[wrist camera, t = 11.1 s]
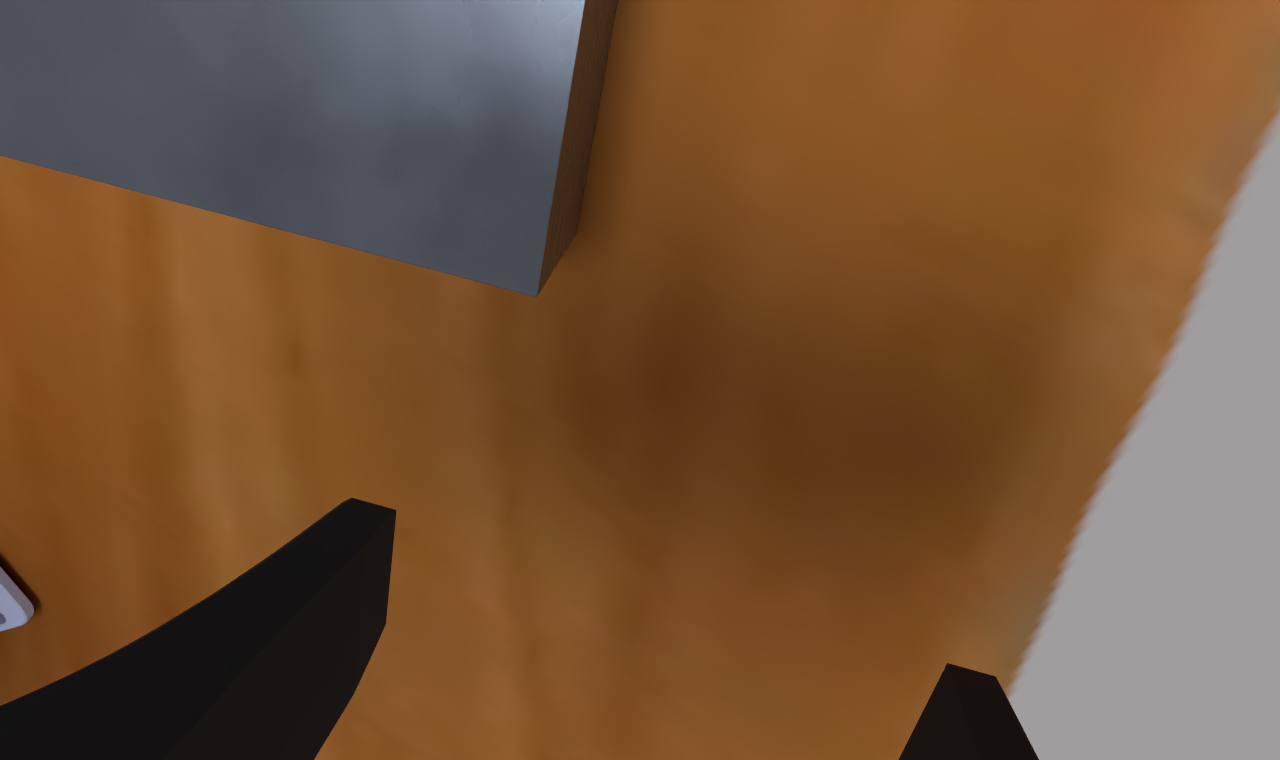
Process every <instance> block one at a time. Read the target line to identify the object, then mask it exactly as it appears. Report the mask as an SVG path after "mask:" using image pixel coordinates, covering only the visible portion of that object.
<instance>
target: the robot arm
mask: <svg viewBox="0 0 1280 760" xmlns="http://www.w3.org/2000/svg"><path fill="white" fill-rule="evenodd" d="M395 520H396V510H394V509H390V508H387V507H383V506H379V505H376V504H372V503H369V502H365V501H361V500H358V499H354V498H350V499H348V500H346V501H344V502H342V503H341V504H340V505H338V506H337V507H336V508H334V509H333V510H332V511H330V512H329V513H328V514H326V515H325V516H324V517H322V518H321V519H320V520H318V521H317V522H316V523H314V524H313V525H311V526H310V527H309V528H307V529H306V530H305V531H303V532H302V533H301V534H299V535H298V536H296V537H295V538H294V539H292V540H291V541H290V542H288V543H287V544H285V545H284V546H283V547H281V548H280V549H278V550H277V551H276V552H274V553H273V554H271V555H270V556H269V557H267V558H266V559H264V560H263V561H261V562H260V563H258V564H257V565H255V566H254V567H252V568H251V569H249V570H248V571H247V572H245V573H244V574H242V575H241V576H239V577H238V578H236V579H235V580H233V581H232V582H230V583H229V584H227V585H226V586H224V587H223V588H221V589H220V590H218V591H217V592H215V593H214V594H212V595H211V596H209V597H207V598H206V599H204V600H203V601H201V602H199V603H198V604H196V605H194V606H193V607H191V608H189V609H188V610H186V611H184V612H183V613H181V614H180V615H178V616H176V617H175V618H173V619H171V620H170V621H168V622H166V623H165V624H163V625H161V626H160V627H158V628H157V629H155V630H153V631H151V632H150V633H148V634H146V635H144V636H143V637H141V638H139V639H137V640H135V641H134V642H132V643H130V644H128V645H126V646H125V647H123V648H121V649H119V650H117V651H115V652H113V653H112V654H110V655H108V656H106V657H104V658H102V659H100V660H98V661H96V662H94V663H92V664H90V665H88V666H86V667H84V668H82V669H80V670H78V671H76V672H74V673H72V674H70V675H68V676H66V677H64V678H62V679H60V680H58V681H55V682H53V683H51V684H49V685H47V686H45V687H42V688H40V689H38V690H36V691H34V692H32V693H29V694H27V695H25V696H23V697H20V698H18V699H16V700H14V701H11V702H9V703H7V704H4V705H2V706H0V760H314V759H315V757H316V755H317V754H318V752H319V750H320V749H321V747H322V746H323V744H324V742H325V741H326V739H327V737H328V736H329V734H330V732H331V731H332V729H333V727H334V726H335V724H336V723H337V721H338V719H339V718H340V716H341V714H342V713H343V711H344V709H345V708H346V706H347V704H348V703H349V701H350V699H351V698H352V696H353V694H354V692H355V690H356V688H357V686H358V684H359V682H360V680H361V677H362V675H363V673H364V671H365V669H366V667H367V665H368V663H369V660H370V658H371V656H372V654H373V651H374V649H375V647H376V645H377V643H378V640H379V638H380V636H381V634H382V631H383V629H384V627H385V625H386V616H387V605H388V594H389V584H390V573H391V562H392V552H393V541H394V530H395ZM33 614H34V608H33V605H32V603H31V602H30V600H29V599H28V598H27V597H26V596H25V595H24V593H23V592H22V591H21V590H20V589H19V588H18V586H17V585H16V584H15V583H14V582H13V581H12V580H11V578H10V577H9V576H8V575H7V574H6V573H5V571H4V570H3V569H2V568H1V567H0V632H1V631H4V630H8V629H11V628H15V627H18V626H22V625H23V624H25V623H26V622H27V621H28V620H29V619H30V618H31V617H32V616H33ZM899 760H1039V759H1038V757H1037V755H1036V753H1035V752H1034V749H1033V747H1032V746H1031V744H1030V742H1029V740H1028V738H1027V736H1026V734H1025V732H1024V730H1023V728H1022V726H1021V724H1020V722H1019V720H1018V718H1017V716H1016V714H1015V712H1014V711H1013V709H1012V707H1011V705H1010V703H1009V701H1008V699H1007V697H1006V695H1005V693H1004V691H1003V689H1002V687H1001V686H1000V684H999V682H998V680H997V678H996V677H995V676H992V675H988V674H984V673H981V672H977V671H974V670H970V669H966V668H963V667H959V666H956V665H952V664H948V663H947V665H946V667H945V669H944V671H943V673H942V675H941V677H940V679H939V681H938V683H937V685H936V687H935V689H934V691H933V693H932V695H931V697H930V699H929V701H928V703H927V705H926V707H925V708H924V710H923V712H922V714H921V716H920V718H919V720H918V722H917V724H916V726H915V728H914V730H913V732H912V734H911V736H910V738H909V740H908V742H907V744H906V746H905V748H904V750H903V752H902V754H901V756H900V758H899Z"/></svg>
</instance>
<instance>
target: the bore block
mask: <svg viewBox="0 0 1280 760" xmlns="http://www.w3.org/2000/svg"><path fill="white" fill-rule="evenodd" d="M616 6H617V0H0V155H1V156H4V157H8V158H12V159H16V160H19V161H23V162H27V163H31V164H35V165H38V166H42V167H46V168H50V169H54V170H57V171H61V172H65V173H69V174H72V175H76V176H80V177H84V178H88V179H91V180H95V181H99V182H103V183H107V184H110V185H114V186H118V187H122V188H125V189H129V190H133V191H137V192H141V193H144V194H148V195H152V196H156V197H159V198H163V199H167V200H171V201H175V202H178V203H182V204H186V205H190V206H194V207H197V208H201V209H205V210H209V211H212V212H216V213H220V214H224V215H228V216H231V217H235V218H239V219H243V220H247V221H250V222H254V223H258V224H262V225H265V226H269V227H273V228H277V229H281V230H284V231H288V232H292V233H296V234H300V235H303V236H307V237H311V238H315V239H318V240H322V241H326V242H330V243H334V244H337V245H341V246H345V247H349V248H352V249H356V250H360V251H364V252H368V253H371V254H375V255H379V256H383V257H387V258H390V259H394V260H398V261H402V262H405V263H409V264H413V265H417V266H421V267H424V268H428V269H432V270H436V271H440V272H443V273H447V274H451V275H455V276H458V277H462V278H466V279H470V280H474V281H477V282H481V283H485V284H489V285H492V286H496V287H500V288H504V289H508V290H511V291H515V292H519V293H523V294H527V295H530V296H534V297H537V296H538V294H539V293H540V291H541V289H542V288H543V286H544V285H545V283H546V281H547V280H548V278H549V277H550V275H551V273H552V272H553V270H554V269H555V267H556V265H557V264H558V262H559V261H560V259H561V257H562V256H563V254H564V253H565V251H566V249H567V248H568V246H569V245H570V243H571V241H572V240H573V238H574V237H575V235H576V230H577V224H578V219H579V213H580V207H581V202H582V196H583V191H584V185H585V179H586V174H587V168H588V163H589V157H590V151H591V146H592V140H593V135H594V129H595V123H596V118H597V112H598V107H599V101H600V95H601V90H602V84H603V79H604V73H605V67H606V62H607V56H608V51H609V45H610V39H611V34H612V28H613V23H614V17H615V11H616Z"/></svg>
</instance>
